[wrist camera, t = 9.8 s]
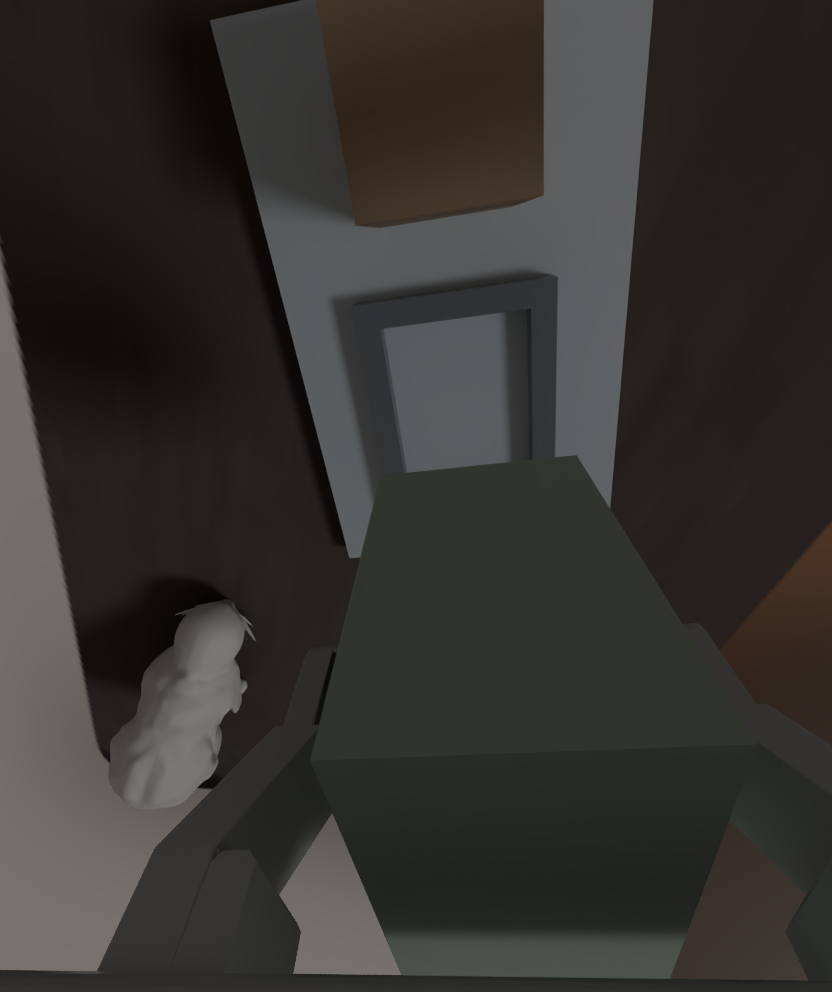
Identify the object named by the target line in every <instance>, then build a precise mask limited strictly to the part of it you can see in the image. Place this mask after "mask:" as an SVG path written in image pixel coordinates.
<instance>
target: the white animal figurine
mask: <svg viewBox="0 0 832 992" xmlns="http://www.w3.org/2000/svg"><path fill="white" fill-rule="evenodd" d="M191 607H192V606H191ZM182 613H184V614H186V616H185V617H184V618H183V619H182V621H181V622H180V624H179V626H178V628H177V631H176V634H175V638H174V645H173V646H172V647H170V648H168V649H166V650H165V651H164V652H163V653H162V654H161V655H159V656H158V657H157V658H155V659H154V660H153V662H152V663H151V665H150V666H149V667H148V668H147V669H146V671H145V672H144V675H143V679H142V683H141V699H140V702H139V704H138V710H137V714H136V716H135V717H134V718H133V719H132V720H131V721H130V722H128V723H127V724H125V725H123V726H122V727H121V729H120V731H119V733H117V734H116V735H115V736H114V737H113V738H112V740H111V744H110V755H111V762H110V766H109V781H110V783H111V786H112V788H113V790H114V792H115V793H116V794H117V795H119V796H120V797H121V798H122V800H123V801H124V802H125V803H127V804H128V805H130V806H131V807H133V808H135V809H138V810H151V809H158V808H164V807H165V808H166V807H174V806H176V805H179V804H180V803H182V802H184V801H185V800H186V799H187V798H188V797H189V796H190V795H191V794H192V793H193V792H194V790H195V789H196V788H197V787H198V786H199V785H200V784H201V783H202V782H203V781H205V780H206V779H208V778H210V776H211V775H212V774H213V772H214V770H215V769H216V767H217V764H218V758H217V755H218V752H219V749H220V745H221V730H220V727H219V724H220V722H221V721H222V719H223V716H224V715H225V714H226V713H227V712H228V711H229V710H230V709H232V711H233V712H234V713H236V712H237V711H238V710H239V707H240V705H241V699H242V698H241V694H242V693H243V692H244V691H245V690H246V688H247V682H246V680H244V679H242V678H240V670H239V666H238V664H237V663H236V662H235V659H234V657H235V656H236V655H237V653H238V651H239V650H240V648H241V645H242V642H243V639H244V630H245V629H246V630H247V632H248V633H249V634H250V636H252V638H253V639H254V640H255V638H254V636H253V634H252V632H251V630H250V629H249V627H248V625H247V623H249V624H250V625H251V623H250V622H249V621H248V620H247V619H246V618H245V617H244V616H242V615H241V614H240V613H239V611H238V610H237V609H236V608H235V604H234V603H233V601H231V600H229V599H224V600H221V601H217V602H211V603H207V604H201V605H196V606H195V608H192V609H188V610H185V611H183V612H180V613H177V614H182ZM177 614H175V615H177ZM184 614H182V615H184ZM246 622H247V623H246ZM244 627H245V628H244ZM246 639H247V638H246ZM255 641H256V640H255Z"/></svg>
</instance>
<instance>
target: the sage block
mask: <svg viewBox="0 0 832 992" xmlns="http://www.w3.org/2000/svg"><path fill="white" fill-rule="evenodd" d="M756 747H757V742H756V741H755V739H754V738H753V736H752V734H751V733H750V731H749V730H748V728H747V726H746V725H745V723H744V722H743V720H742V718H741V717H740V715H739V714H738V712H737V710H736V709H735V707H734V706H733V704H732V702H731V701H730V699H729V698H728V696H727V694H726V693H725V691H724V690H723V688H722V687H721V685H720V683H719V682H718V680H717V679H716V677H715V675H714V674H713V672H712V671H711V669H710V667H709V666H708V664H707V663H706V661H705V659H704V658H703V656H702V655H701V653H700V651H699V650H698V648H697V647H696V645H695V643H694V642H693V640H692V639H691V637H690V635H689V634H688V632H687V631H686V629H685V627H684V626H683V624H682V623H681V621H680V619H679V618H678V616H677V615H676V613H675V611H674V610H673V608H672V607H671V605H670V604H669V602H668V600H667V599H666V597H665V596H664V594H663V592H662V591H661V589H660V588H659V586H658V584H657V583H656V581H655V580H654V578H653V576H652V575H651V573H650V572H649V570H648V568H647V567H646V565H645V564H644V562H643V560H642V559H641V557H640V556H639V554H638V552H637V551H636V549H635V548H634V546H633V544H632V543H631V541H630V540H629V538H628V536H627V535H626V533H625V532H624V530H623V528H622V527H621V525H620V524H619V522H618V521H617V519H616V517H615V516H614V514H613V513H612V511H611V509H610V508H609V506H608V505H607V503H606V501H605V500H604V498H603V497H602V495H601V493H600V492H599V490H598V489H597V487H596V485H595V484H594V482H593V481H592V479H591V477H590V476H589V474H588V473H587V471H586V469H585V468H584V466H583V465H582V463H581V461H580V460H579V458H578V457H577V455H573V456H563V457H553V458H544V459H534V460H524V461H515V462H505V463H496V464H486V465H476V466H467V467H457V468H447V469H438V470H428V471H418V472H409V473H399V474H390V475H381V476H380V480H379V484H378V488H377V492H376V496H375V500H374V504H373V508H372V512H371V516H370V520H369V524H368V528H367V532H366V537H365V541H364V545H363V549H362V553H361V557H360V561H359V565H358V569H357V573H356V577H355V581H354V585H353V589H352V593H351V597H350V601H349V605H348V609H347V613H346V618H345V622H344V626H343V630H342V634H341V638H340V642H339V646H338V650H337V654H336V658H335V662H334V666H333V670H332V674H331V678H330V682H329V686H328V690H327V694H326V699H325V703H324V707H323V711H322V715H321V719H320V723H319V727H318V731H317V735H316V739H315V743H314V747H313V751H312V755H311V759H310V761H311V764H312V766H313V769H314V771H315V773H316V776H317V778H318V780H319V783H320V785H321V787H322V790H323V792H324V794H325V797H326V799H327V801H328V804H329V806H330V808H331V811H332V813H333V815H334V818H335V820H336V822H337V825H338V827H339V830H340V832H341V834H342V837H343V839H344V841H345V844H346V846H347V848H348V851H349V853H350V855H351V858H352V860H353V862H354V865H355V867H356V869H357V872H358V874H359V876H360V879H361V881H362V884H363V886H364V888H365V891H366V893H367V895H368V897H369V900H370V902H371V904H372V907H373V909H374V912H375V914H376V916H377V919H378V921H379V923H380V926H381V928H382V930H383V933H384V935H385V938H386V940H387V942H388V944H389V947H390V949H391V952H392V954H393V956H394V959H395V961H396V963H397V965H398V968H399V970H400V973H401V975H416V976H492V977H568V978H644V979H670V977H671V974H672V971H673V969H674V966H675V964H676V961H677V958H678V956H679V953H680V950H681V948H682V945H683V942H684V940H685V937H686V934H687V932H688V929H689V926H690V923H691V921H692V918H693V915H694V912H695V910H696V907H697V905H698V902H699V899H700V897H701V894H702V891H703V889H704V886H705V883H706V881H707V878H708V875H709V873H710V870H711V867H712V865H713V862H714V859H715V857H716V854H717V851H718V849H719V846H720V843H721V841H722V838H723V835H724V832H725V830H726V827H727V825H728V822H729V819H730V817H731V814H732V811H733V809H734V806H735V803H736V801H737V798H738V795H739V793H740V790H741V787H742V785H743V782H744V779H745V777H746V774H747V771H748V769H749V766H750V763H751V761H752V758H753V755H754V753H755V750H756Z"/></svg>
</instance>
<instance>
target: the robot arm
mask: <svg viewBox="0 0 832 992" xmlns="http://www.w3.org/2000/svg"><path fill="white" fill-rule="evenodd" d="M683 626H684V627H685V629H686V631H687V632H688V634H689V635H690V637H691V639H692V640H693V642H694V643H695V645H696V647H697V648H698V650H699V651H700V653H701V655H702V656H703V658H704V659H705V661H706V663H707V664H708V666H709V667H710V669H711V671H712V672H713V674H714V675H715V677H716V679H717V680H718V682H719V683H720V685H721V687H722V688H723V690H724V691H725V693H726V694H727V696H728V698H729V699H730V701H731V702H732V704H733V706H734V707H735V709H736V710H737V712H738V714H739V715H740V717H741V718H742V720H743V722H744V723H745V725H746V726H747V728H748V730H749V731H750V733H751V734H752V736H753V738H754V739H755V741H756V742H757V747H756V750H755V753H754V755H753V758H752V761H751V763H750V766H749V769H748V771H747V774H746V777H745V779H744V782H743V785H742V787H741V790H740V793H739V795H738V798H737V801H736V803H735V806H734V809H733V811H732V814H731V817H730V819H729V820H731V822H733V824H735V825H736V826H737V827H738V828H739V829H740V830H741V831H742V832H743V833H744V834H745V835H746V836H747V837H748V838H749V839H750V840H751V841H752V842H753V843H754V844H755V845H756V846H757V847H758V848H759V849H760V850H761V851H762V852H763V853H764V854H765V855H766V856H767V857H768V858H769V859H770V860H771V861H772V862H773V863H774V864H775V865H776V866H777V867H778V868H779V869H780V870H781V871H782V872H783V873H784V874H785V875H786V876H787V877H788V878H789V879H790V880H791V881H792V882H793V883H794V884H795V885H796V886H797V887H798V888H799V889H800V890H801V891H802V892H803V893H804V894H805V895H806V896H805V898H804V900H803V901H802V903H801V904H800V906H799V908H798V909H797V911H796V913H795V914H794V916H793V917H792V919H791V921H790V923H789V925H788V928H787V930H786V932H785V933H786V935H787V937H788V939H789V941H790V943H791V945H792V947H793V949H794V951H795V953H796V955H797V958H798V960H799V962H800V964H801V966H802V968H803V970H804V972H805V974H806V976H807V978H808V980H809V981H797V980H796V981H795V980H793V981H792V980H720V979H719V980H718V979H644V978H568V977H492V976H416V975H339V974H331V975H330V974H293V972H294V966H295V961H296V955H297V950H298V945H299V939H300V934H301V931H300V929H299V927H298V925H297V922H296V921H295V919H294V918H293V916H292V915H291V913H290V911H289V910H288V908H287V907H286V905H285V904H284V902H283V901H282V899H281V898H280V896H279V894H280V893H281V891H282V889H283V888H284V886H285V885H286V883H287V882H288V880H289V878H290V877H291V875H292V874H293V872H294V871H295V869H296V868H297V866H298V865H299V863H300V861H301V860H302V858H303V857H304V855H305V854H306V852H307V850H308V849H309V848H310V846H311V845H312V843H313V841H314V840H315V838H316V837H317V835H318V834H319V832H320V831H321V829H322V827H323V826H324V824H325V823H326V821H327V820H328V818H329V817H330V815H331V814H332V811H331V808H330V806H329V804H328V801H327V799H326V797H325V794H324V792H323V790H322V787H321V785H320V783H319V780H318V778H317V776H316V773H315V771H314V769H313V766H312V764H311V761H310V759H311V755H312V751H313V747H314V743H315V739H316V735H317V731H318V727H319V723H320V719H321V715H322V711H323V707H324V703H325V699H326V694H327V690H328V686H329V682H330V678H331V674H332V670H333V666H334V662H335V658H336V654H337V650H338V646H337V647H322V648H310V650H309V651H308V652H307V654H306V655H305V658H304V661H303V664H302V667H301V671H300V674H299V677H298V680H297V683H296V686H295V689H294V692H293V695H292V698H291V702H290V705H289V708H288V711H287V714H286V717H285V720H284V723H283V726H276V727H274V728H273V729H272V730H271V731H270V732H269V733H268V734H267V735H266V736H265V737H264V738H263V739H262V740H261V741H260V742H259V743H258V744H257V745H256V746H255V747H254V748H253V749H252V750H251V751H250V752H249V753H248V754H247V755H246V756H245V757H244V758H243V759H242V760H241V761H240V762H239V763H238V764H237V765H236V766H235V767H234V768H233V769H232V770H231V771H230V772H229V773H228V774H227V775H226V776H225V777H224V778H223V779H222V780H221V782H220V783H219V784H218V785H217V786H216V787H215V788H214V789H213V790H212V791H211V792H210V793H209V794H208V795H207V796H206V797H205V798H204V799H203V800H202V801H201V802H200V803H199V804H198V805H197V806H196V807H195V808H194V809H193V810H192V811H191V812H190V813H189V814H188V815H187V816H186V817H185V818H184V819H183V820H182V821H181V822H180V823H179V824H178V825H177V826H176V827H175V828H174V829H173V830H172V831H171V832H170V833H169V834H168V835H167V836H166V837H165V838H164V839H163V840H162V841H161V843H159V844H158V845H157V846H156V847H155V849H154V851H153V853H152V855H151V857H150V859H149V861H148V864H147V866H146V868H145V870H144V872H143V874H142V876H141V879H140V881H139V883H138V885H137V887H136V889H135V891H134V893H133V896H132V898H131V900H130V902H129V904H128V906H127V908H126V910H125V913H124V915H123V917H122V919H121V921H120V923H119V925H118V928H117V930H116V932H115V934H114V936H113V938H112V940H111V943H110V945H109V947H108V949H107V951H106V953H105V955H104V957H103V960H102V962H101V964H100V966H99V968H98V970H97V971H34V970H32V971H31V970H29V971H28V970H27V971H26V970H0V992H832V746H831V745H829V744H828V743H826V742H825V741H823V740H822V739H820V738H819V737H817V736H816V735H814V734H812V733H811V732H809V731H807V730H806V729H804V728H803V727H801V726H799V725H798V724H797V723H795V722H794V721H792V720H790V719H789V718H787V717H786V716H784V715H783V714H781V713H779V712H778V711H776V710H775V709H773V708H772V707H770V706H768V705H767V704H755V702H754V700H752V698H751V696H750V695H749V693H748V692H747V690H746V689H745V687H744V686H743V684H742V683H741V682H740V680H739V679H738V677H737V676H736V674H735V673H734V672H733V670H732V669H731V667H730V666H729V664H728V663H727V661H726V660H725V658H724V657H723V655H722V654H721V653H720V651H719V650H718V648H717V647H716V645H715V644H714V642H713V641H712V639H711V638H710V637H709V635H708V634H707V632H706V631H705V629H704V628H703V627H702V626H700V625H699V624H697V623H695V624H683Z"/></svg>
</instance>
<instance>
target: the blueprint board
mask: <svg viewBox="0 0 832 992" xmlns="http://www.w3.org/2000/svg"><path fill="white" fill-rule="evenodd" d="M652 9H653V0H301V1H296V2H292V3H287V4H282V5H278V6H273V7H269V8H264V9H259V10H255V11H250V12H246V13H241V14H237V15H232V16H227V17H223V18H218V19H214V20H210V23H211V27H212V31H213V35H214V39H215V42H216V46H217V50H218V54H219V58H220V62H221V66H222V69H223V73H224V77H225V81H226V85H227V89H228V92H229V96H230V100H231V104H232V108H233V112H234V116H235V119H236V123H237V127H238V131H239V135H240V139H241V142H242V146H243V150H244V154H245V158H246V162H247V166H248V169H249V173H250V177H251V181H252V185H253V189H254V193H255V196H256V200H257V204H258V208H259V212H260V216H261V219H262V223H263V227H264V231H265V235H266V239H267V243H268V246H269V250H270V254H271V258H272V262H273V266H274V270H275V273H276V277H277V281H278V285H279V289H280V293H281V296H282V300H283V304H284V308H285V312H286V316H287V320H288V323H289V327H290V331H291V335H292V339H293V343H294V347H295V350H296V354H297V358H298V362H299V366H300V370H301V373H302V377H303V381H304V385H305V389H306V393H307V397H308V400H309V404H310V408H311V412H312V416H313V420H314V424H315V427H316V431H317V435H318V439H319V443H320V447H321V450H322V454H323V458H324V462H325V466H326V470H327V474H328V477H329V481H330V485H331V489H332V493H333V497H334V501H335V504H336V508H337V512H338V516H339V520H340V524H341V527H342V531H343V535H344V539H345V543H346V547H347V551H348V554H349V558H357V557H361V553H362V549H363V545H364V541H365V537H366V532H367V528H368V524H369V520H370V516H371V512H372V508H373V504H374V500H375V496H376V492H377V488H378V484H379V480H380V476H381V475H390V474H399V473H409V472H418V471H428V470H438V469H447V468H457V467H467V466H476V465H486V464H496V463H505V462H515V461H524V460H534V459H544V458H553V457H563V456H573V455H577V457H578V458H579V460H580V461H581V463H582V465H583V466H584V468H585V469H586V471H587V473H588V474H589V476H590V477H591V479H592V481H593V482H594V484H595V485H596V487H597V489H598V490H599V492H600V493H601V495H602V497H603V498H604V500H605V501H606V503H607V505H608V506H609V508H610V502H611V491H612V479H613V467H614V455H615V444H616V432H617V420H618V408H619V397H620V385H621V373H622V362H623V350H624V338H625V326H626V315H627V303H628V291H629V279H630V268H631V256H632V244H633V232H634V221H635V209H636V197H637V185H638V174H639V162H640V150H641V138H642V127H643V115H644V103H645V92H646V80H647V68H648V56H649V45H650V33H651V21H652Z"/></svg>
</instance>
